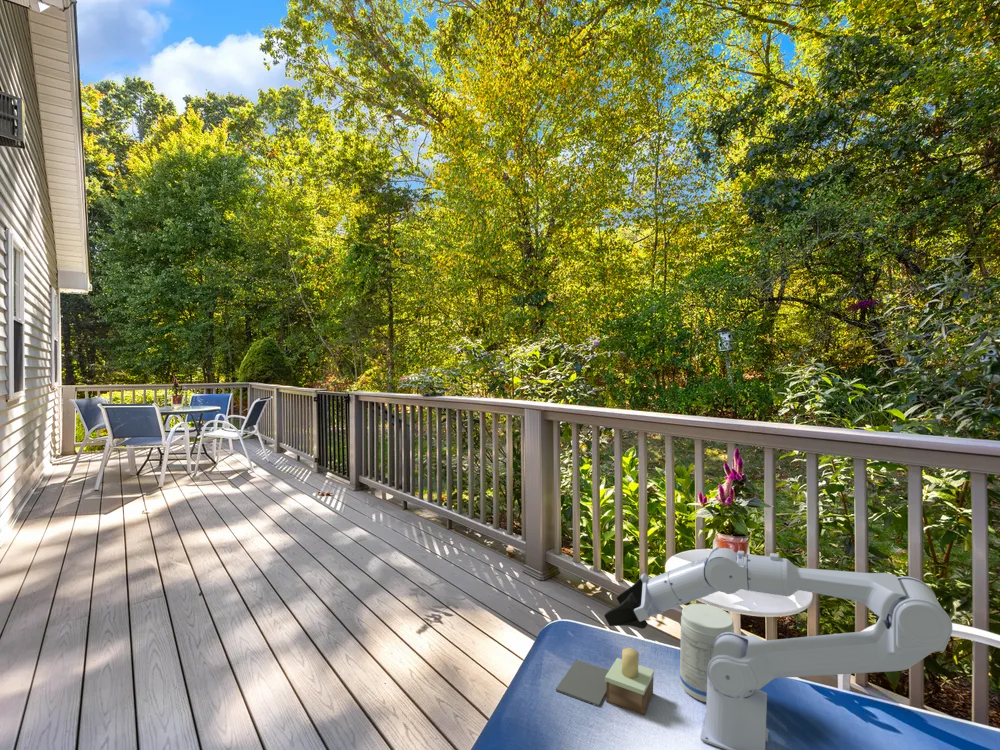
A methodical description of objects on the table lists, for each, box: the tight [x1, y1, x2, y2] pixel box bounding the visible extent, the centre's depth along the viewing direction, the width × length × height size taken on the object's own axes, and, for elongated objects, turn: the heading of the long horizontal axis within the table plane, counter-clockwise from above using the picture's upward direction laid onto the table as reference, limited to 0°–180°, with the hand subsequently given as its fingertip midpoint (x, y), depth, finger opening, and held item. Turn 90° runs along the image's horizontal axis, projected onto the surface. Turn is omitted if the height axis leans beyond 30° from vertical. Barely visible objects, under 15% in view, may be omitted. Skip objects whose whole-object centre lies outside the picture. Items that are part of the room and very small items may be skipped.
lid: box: [605, 647, 655, 695], centre depth 94 cm, size 7×7×6 cm
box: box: [605, 674, 655, 716], centre depth 94 cm, size 7×7×4 cm
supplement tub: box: [679, 603, 735, 703], centre depth 96 cm, size 10×10×15 cm
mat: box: [555, 659, 610, 707], centre depth 98 cm, size 8×11×1 cm
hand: (613, 610), depth 94 cm, fingers open, 7 cm apart
